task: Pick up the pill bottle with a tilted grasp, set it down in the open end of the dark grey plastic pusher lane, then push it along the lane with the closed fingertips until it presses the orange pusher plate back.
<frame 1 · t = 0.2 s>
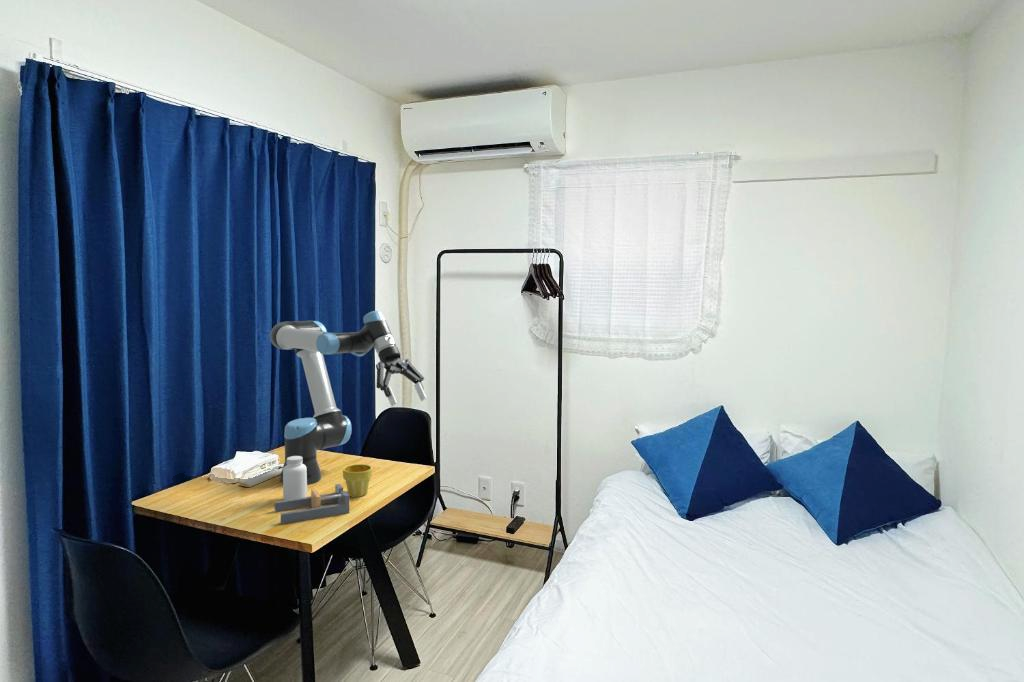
hand: (409, 401, 208), 36 cm above the table, tool tilted 35°, fingers open, 13 cm apart
plant pot: (357, 494, 216), on the table
lane: (309, 511, 197), on the table
pill bottle: (295, 499, 209), on the table
pusher: (329, 499, 200), point 3 cm above the table, slide at 0.0 cm
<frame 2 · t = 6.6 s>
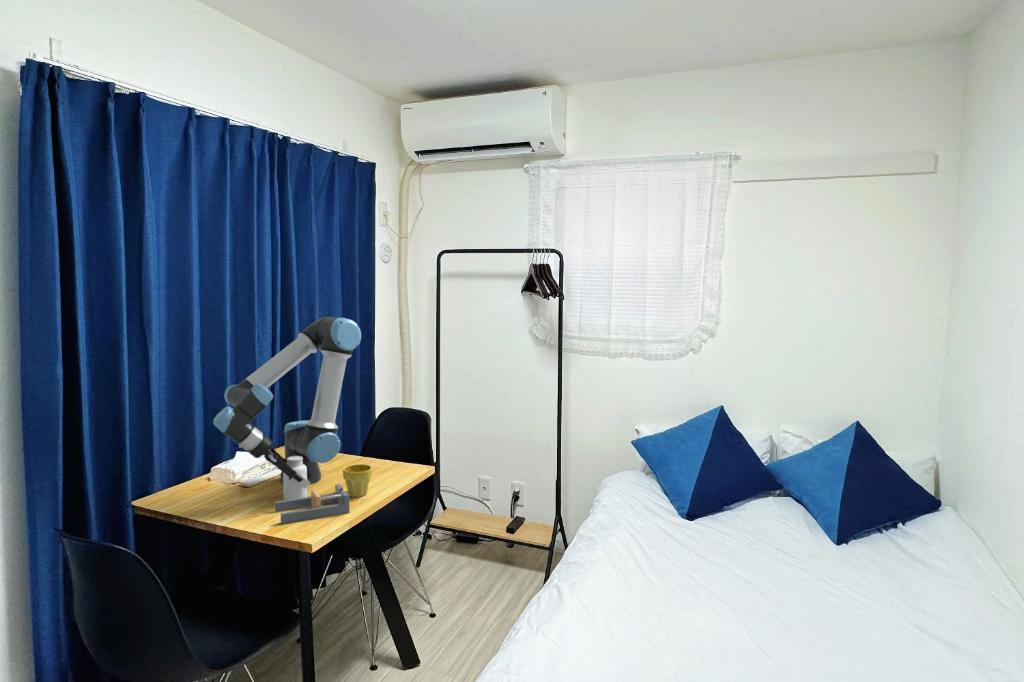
hand: (305, 482, 210), 6 cm above the table, tool tilted 45°, fingers closed on pill bottle, 8 cm apart
pill bottle: (295, 499, 209), on the table, touching gripper
everything else where it was.
when the fingers open (7 cm above the table, at t = 11.6 s): pill bottle drops 1 cm, on the table.
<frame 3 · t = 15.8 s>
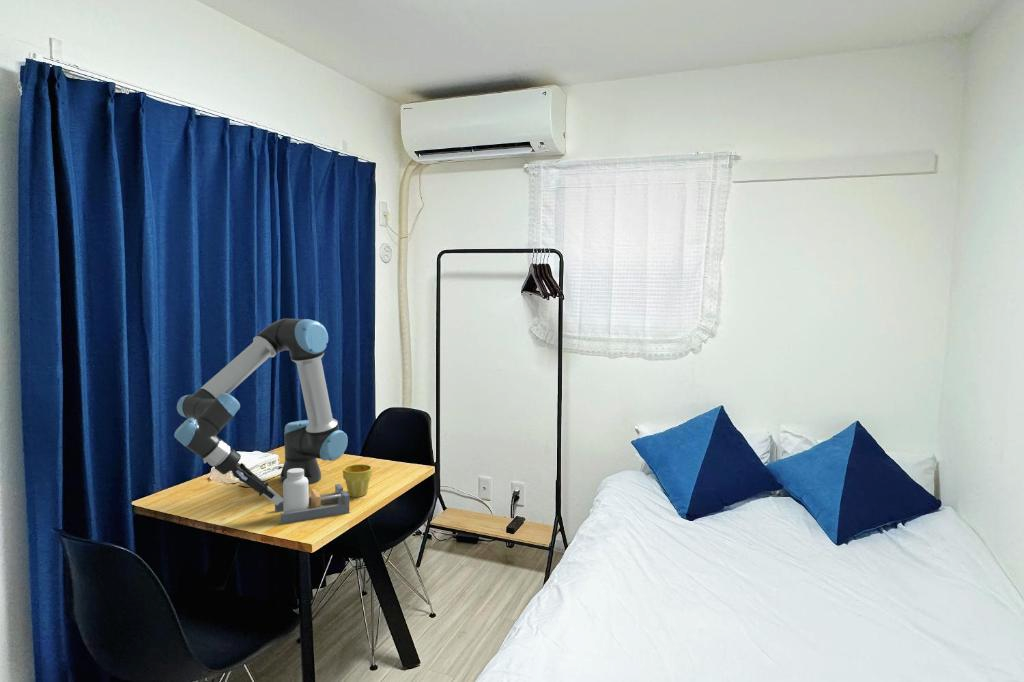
hand: (279, 501, 192), 5 cm above the table, tool tilted 45°, fingers closed
pill bottle: (296, 515, 195), on the table, touching gripper
everything else where it was.
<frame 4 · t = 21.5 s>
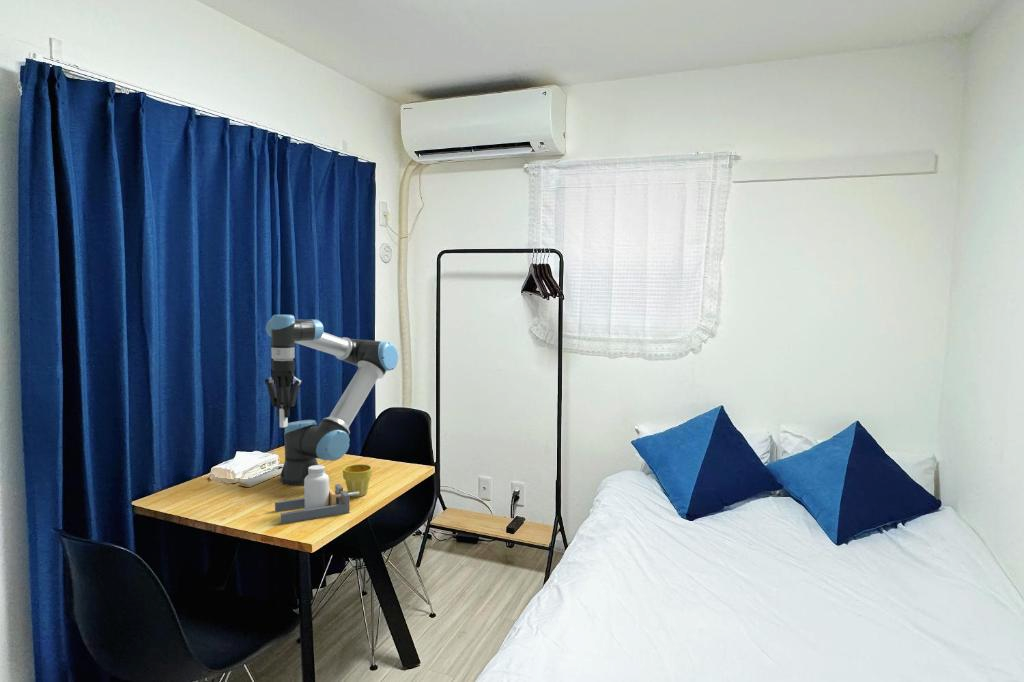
hand: (283, 426, 205), 26 cm above the table, tool pointing down, fingers closed
pill bottle: (316, 511, 199), on the table
pusher: (344, 497, 203), point 3 cm above the table, slide at 5.0 cm
everything else where it was.
at the end: pill bottle inside the target area on the lane (1.8 cm from its centre), point 0.0 cm above the lane's base; pill bottle tilted 0°; pusher slide at 5.0 cm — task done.
